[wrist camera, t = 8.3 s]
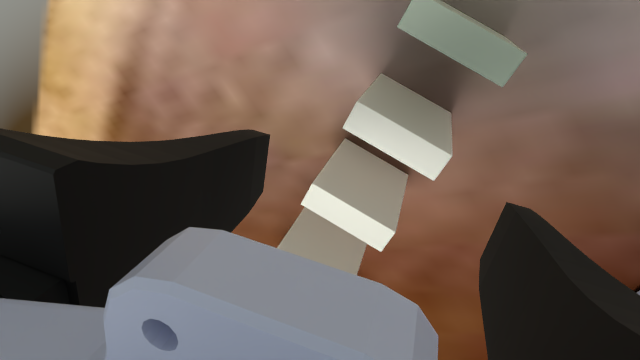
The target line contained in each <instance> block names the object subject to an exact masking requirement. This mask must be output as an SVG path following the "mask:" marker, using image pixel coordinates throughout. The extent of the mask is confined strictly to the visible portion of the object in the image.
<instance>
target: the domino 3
mask: <svg viewBox="0 0 640 360" xmlns="http://www.w3.org/2000/svg"><path fill="white" fill-rule="evenodd" d="M366 245H367V243H365V242H364V241H362V240H360V239H359V238H357V237H355V236H353V235H352V234H350V233H348V232H347V231H345V230H343V229H342V228H340V227H338V226H337V225H335V224H333V223H331V222H330V221H328V220H326V219H325V218H323V217H321V216H320V215H318V214H316V213H315V212H313V211H311V210H310V209H308V208H306V207H305V208H304V209H303V210H302V212H301V213H300V215H299V216H298V218H297V219H296V221H295V222H294V224H293V225H292V227H291V228H290V230H289V231H288V233H287V234H286V236H285V237H284V238H283V240H282V241H281V243H280V244H279V246H278V247H277V249H280V250H283V251H286V252H289V253H292V254H295V255H298V256H301V257H304V258H307V259H310V260H313V261H316V262H319V263H321V264H324V265H327V266H330V267H333V268H336V269H339V270H342V271H345V272H348V273H351V274H354V275H357V273H358V270H359V267H360V263H361V260H362V257H363V254H364V251H365V248H366Z"/></svg>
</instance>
